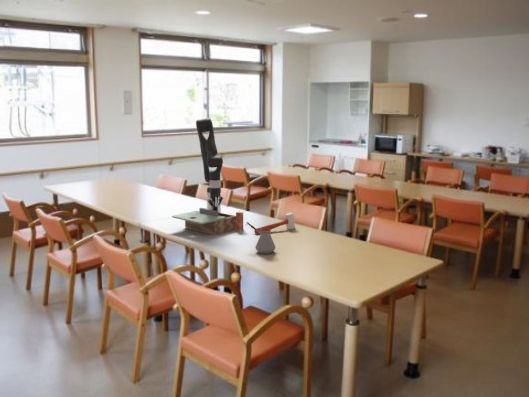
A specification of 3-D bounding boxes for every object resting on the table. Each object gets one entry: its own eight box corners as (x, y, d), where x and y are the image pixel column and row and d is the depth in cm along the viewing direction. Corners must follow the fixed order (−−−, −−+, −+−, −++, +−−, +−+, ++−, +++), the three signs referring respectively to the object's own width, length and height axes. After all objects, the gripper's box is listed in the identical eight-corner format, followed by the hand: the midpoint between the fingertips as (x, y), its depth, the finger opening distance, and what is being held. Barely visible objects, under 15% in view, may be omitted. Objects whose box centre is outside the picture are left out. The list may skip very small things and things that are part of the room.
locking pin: (239, 229, 352) (239, 211, 350) (243, 229, 350) (243, 212, 348) (236, 230, 350) (236, 212, 347) (239, 230, 347) (239, 213, 345)
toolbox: (206, 222, 370) (206, 209, 368) (236, 229, 352) (236, 215, 350) (185, 227, 355) (184, 214, 353) (214, 235, 337) (214, 221, 335)
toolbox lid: (196, 212, 360) (196, 206, 360) (225, 218, 343) (225, 212, 342) (172, 217, 345) (172, 211, 344) (201, 224, 327) (201, 218, 326)
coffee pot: (279, 252, 302) (279, 226, 299) (265, 256, 294) (265, 230, 291) (253, 244, 316) (253, 220, 313) (239, 248, 308) (239, 223, 305)
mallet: (256, 225, 337) (293, 213, 351) (253, 224, 339) (290, 212, 354) (258, 241, 339) (295, 228, 354) (255, 239, 342) (292, 227, 357)
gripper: (218, 184, 359) (218, 209, 363) (204, 187, 349) (204, 212, 353) (226, 185, 354) (226, 211, 358) (211, 188, 344) (212, 214, 348)
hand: (215, 211), depth 355 cm, fingers closed
